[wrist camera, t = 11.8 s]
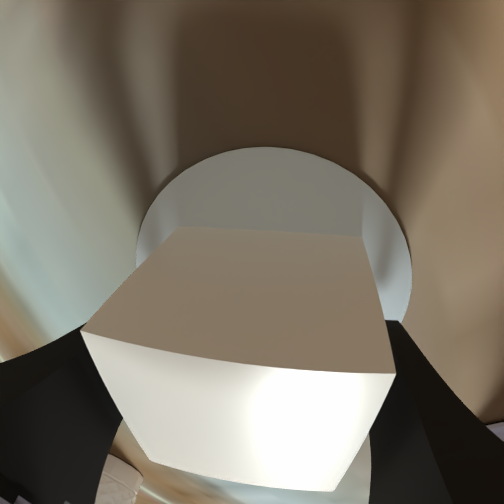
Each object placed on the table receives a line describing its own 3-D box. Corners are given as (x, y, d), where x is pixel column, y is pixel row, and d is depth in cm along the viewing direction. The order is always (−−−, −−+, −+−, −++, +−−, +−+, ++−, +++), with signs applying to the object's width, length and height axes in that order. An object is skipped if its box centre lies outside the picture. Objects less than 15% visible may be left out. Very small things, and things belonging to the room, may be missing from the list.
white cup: (71, 438, 25) (33, 503, 16) (115, 449, 22) (74, 530, 13) (115, 474, 28) (86, 534, 19) (162, 485, 25) (133, 557, 16)
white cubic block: (360, 234, 9) (396, 373, 4) (337, 365, 12) (333, 491, 7) (181, 223, 10) (79, 330, 5) (200, 350, 13) (150, 460, 8)
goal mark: (434, 160, 8) (436, 161, 8) (375, 391, 12) (375, 394, 12) (119, 152, 9) (116, 153, 9) (163, 367, 14) (162, 370, 14)
